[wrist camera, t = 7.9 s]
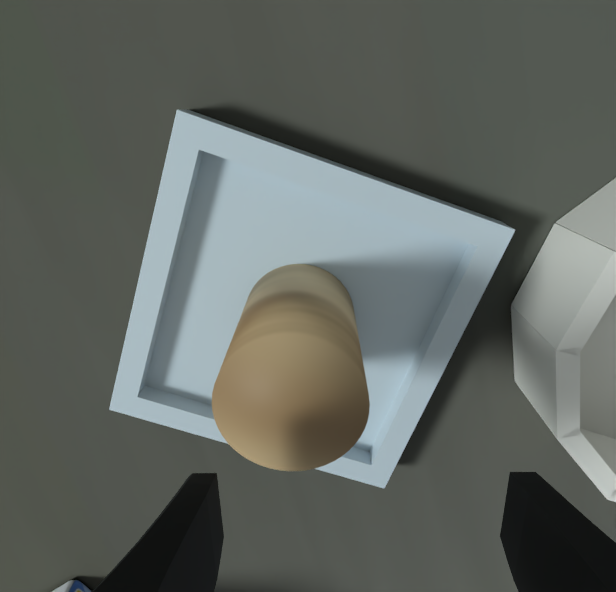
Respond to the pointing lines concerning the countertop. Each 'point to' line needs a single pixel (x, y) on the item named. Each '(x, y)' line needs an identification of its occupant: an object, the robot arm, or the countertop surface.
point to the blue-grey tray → (298, 250)
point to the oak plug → (293, 373)
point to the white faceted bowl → (574, 335)
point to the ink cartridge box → (72, 587)
